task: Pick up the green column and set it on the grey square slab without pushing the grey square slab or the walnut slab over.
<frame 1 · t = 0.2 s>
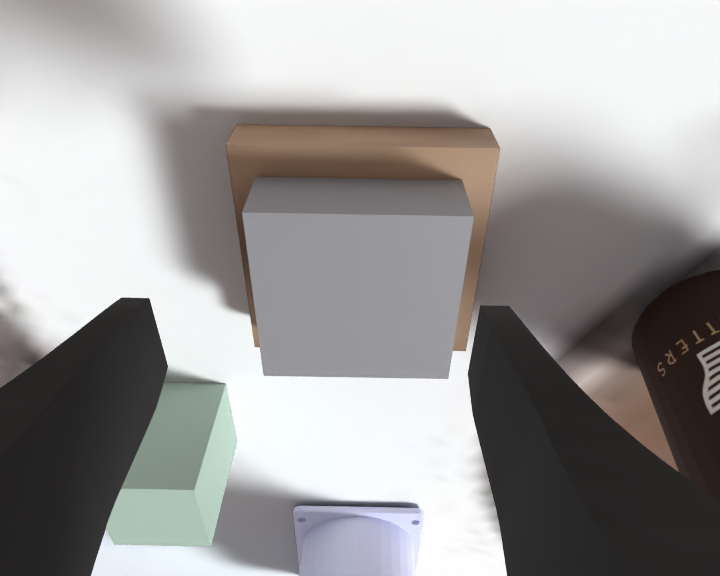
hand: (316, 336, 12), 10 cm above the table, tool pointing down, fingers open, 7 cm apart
walnut slab: (362, 227, 22), on the table, touching grey square slab
green column: (189, 412, 28), on the table
grey square slab: (357, 263, 20), point 2 cm above the table, touching walnut slab
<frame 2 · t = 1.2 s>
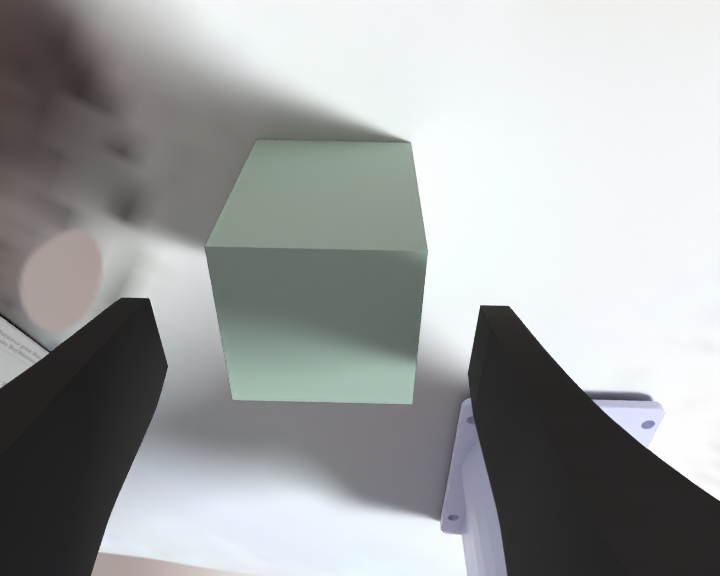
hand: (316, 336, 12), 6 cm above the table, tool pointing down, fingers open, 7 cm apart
skincare box: (19, 376, 22), on the table
green column: (334, 209, 17), on the table
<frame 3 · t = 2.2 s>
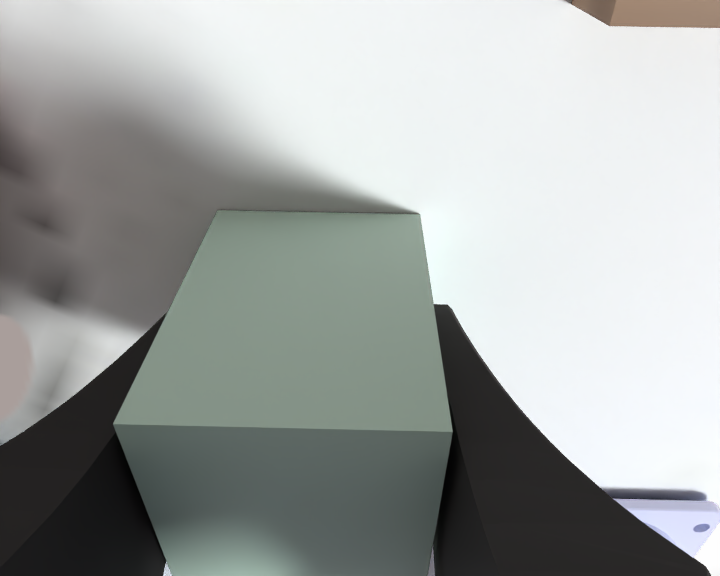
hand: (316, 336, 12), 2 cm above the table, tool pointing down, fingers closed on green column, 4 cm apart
green column: (321, 293, 13), on the table, touching gripper
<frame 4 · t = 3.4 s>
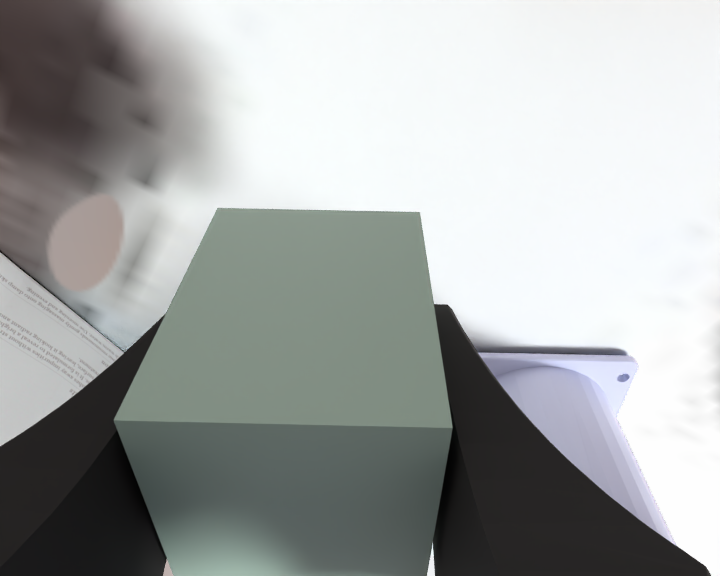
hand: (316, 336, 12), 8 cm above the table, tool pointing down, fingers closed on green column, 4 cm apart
skincare box: (44, 335, 24), on the table
green column: (321, 291, 13), point 7 cm above the table, touching gripper
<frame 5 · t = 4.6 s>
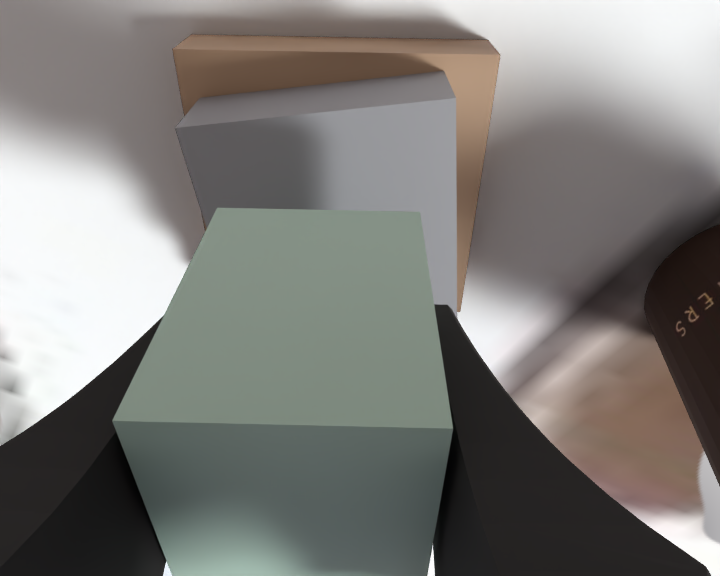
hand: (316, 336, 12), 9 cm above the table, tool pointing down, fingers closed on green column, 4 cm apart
walnut slab: (341, 168, 19), on the table, touching grey square slab
green column: (321, 291, 13), point 7 cm above the table, touching gripper
grey square slab: (336, 196, 17), point 2 cm above the table, touching walnut slab
when the fingers open (8 cm above the table, at t = 5.3 s): green column drops 2 cm, point 4 cm above the table.
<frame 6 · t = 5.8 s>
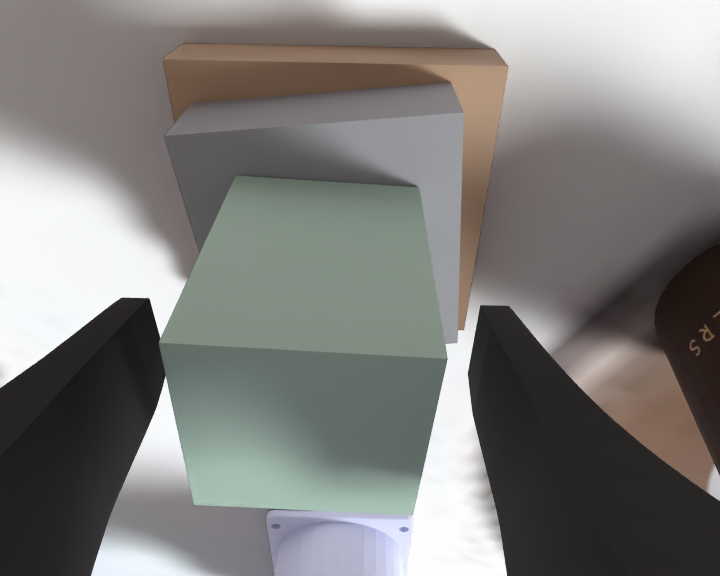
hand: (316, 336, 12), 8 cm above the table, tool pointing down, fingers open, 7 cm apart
walnut slab: (340, 181, 19), on the table, touching grey square slab
green column: (325, 257, 15), point 4 cm above the table
grey square slab: (334, 208, 17), point 2 cm above the table, touching walnut slab
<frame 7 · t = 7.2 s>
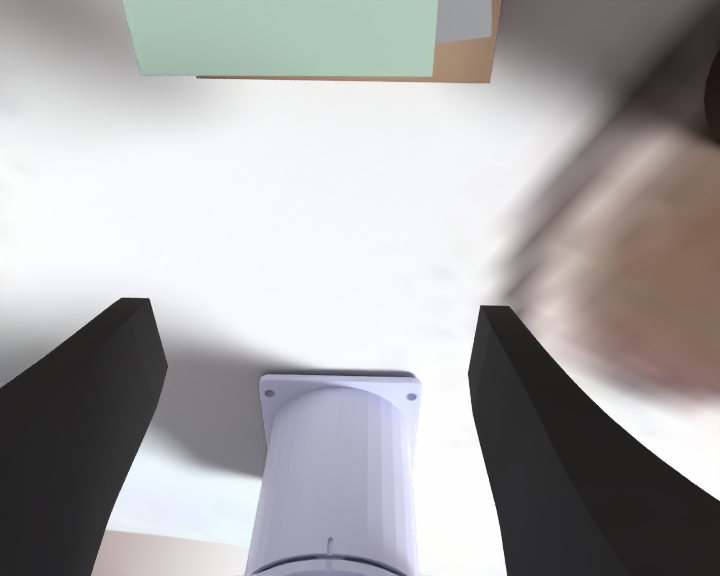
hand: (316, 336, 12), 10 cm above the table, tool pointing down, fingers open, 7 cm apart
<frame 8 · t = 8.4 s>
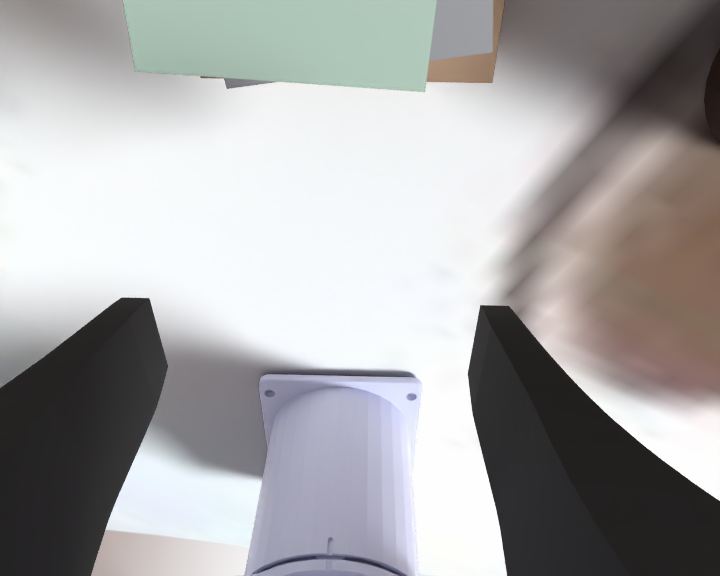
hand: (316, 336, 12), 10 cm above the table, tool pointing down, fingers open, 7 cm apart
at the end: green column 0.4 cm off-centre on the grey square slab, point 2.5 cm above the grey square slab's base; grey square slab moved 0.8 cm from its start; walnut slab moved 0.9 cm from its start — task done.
